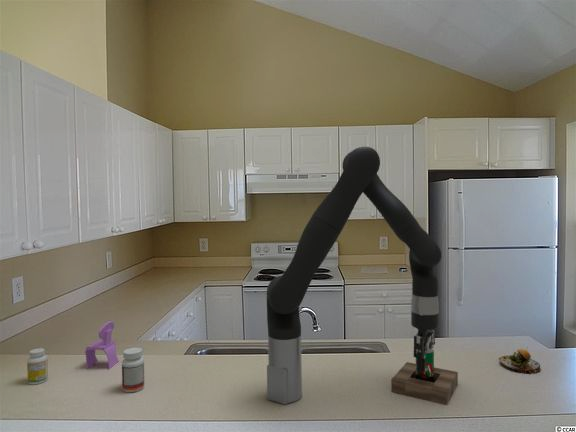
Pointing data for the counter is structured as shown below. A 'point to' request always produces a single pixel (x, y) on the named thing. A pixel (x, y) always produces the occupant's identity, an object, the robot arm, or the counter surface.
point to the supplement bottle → (37, 367)
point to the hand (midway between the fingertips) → (424, 365)
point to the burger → (520, 362)
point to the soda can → (427, 367)
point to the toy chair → (103, 347)
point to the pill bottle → (132, 370)
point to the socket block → (425, 384)
